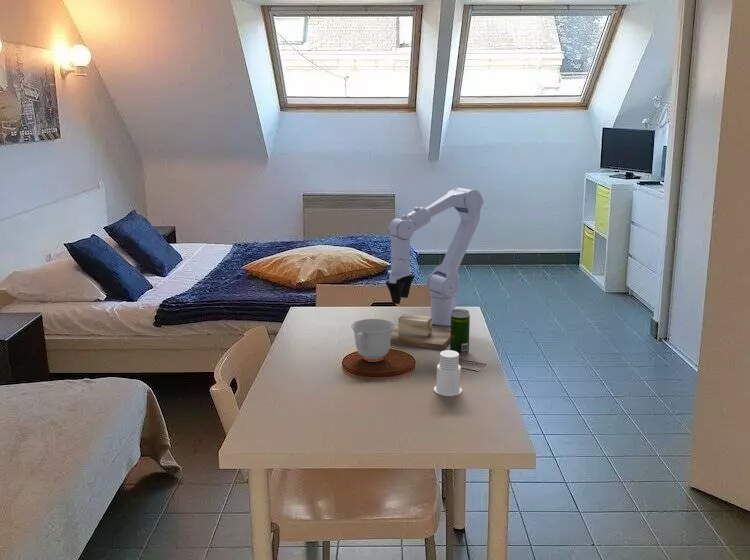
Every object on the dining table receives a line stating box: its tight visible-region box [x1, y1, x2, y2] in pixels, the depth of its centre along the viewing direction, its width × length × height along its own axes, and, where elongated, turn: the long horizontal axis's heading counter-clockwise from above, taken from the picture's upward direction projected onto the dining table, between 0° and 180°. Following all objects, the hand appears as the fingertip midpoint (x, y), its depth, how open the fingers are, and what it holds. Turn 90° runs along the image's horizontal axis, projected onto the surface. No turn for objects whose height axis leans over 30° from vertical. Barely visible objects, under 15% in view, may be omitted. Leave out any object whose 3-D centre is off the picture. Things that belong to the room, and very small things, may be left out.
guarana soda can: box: [449, 308, 471, 356], centre depth 207 cm, size 5×5×12 cm
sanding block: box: [397, 313, 433, 338], centre depth 219 cm, size 5×9×5 cm, turn 68°
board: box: [390, 323, 451, 351], centre depth 220 cm, size 14×20×2 cm
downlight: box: [433, 349, 463, 397], centre depth 179 cm, size 8×7×10 cm
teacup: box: [350, 318, 395, 359], centre depth 200 cm, size 12×15×10 cm
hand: (400, 300), depth 227 cm, fingers open, 7 cm apart
